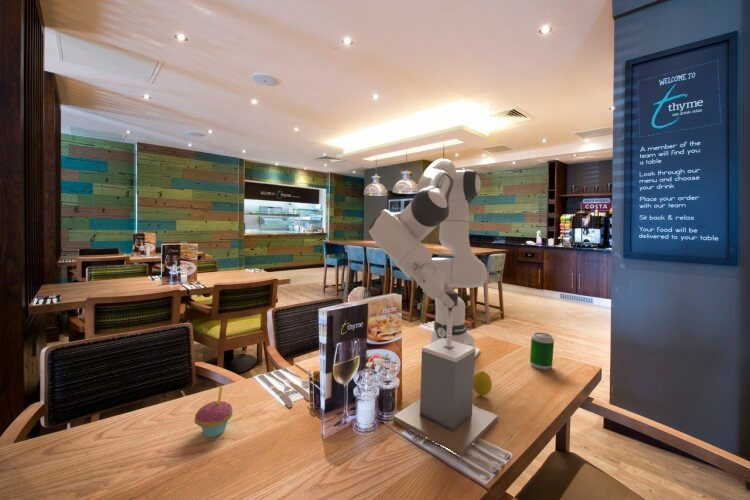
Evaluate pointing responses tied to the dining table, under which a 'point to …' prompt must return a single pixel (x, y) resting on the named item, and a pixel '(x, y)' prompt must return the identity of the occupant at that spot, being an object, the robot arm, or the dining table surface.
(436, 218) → the robot arm
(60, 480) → the dining table surface
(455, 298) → the plunger
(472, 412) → the press
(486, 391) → the lemon
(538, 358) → the soda can
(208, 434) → the cupcake
